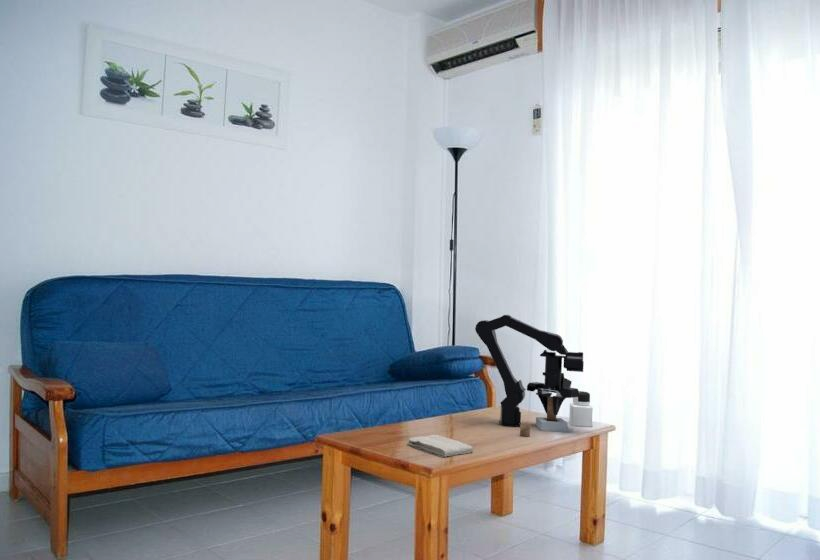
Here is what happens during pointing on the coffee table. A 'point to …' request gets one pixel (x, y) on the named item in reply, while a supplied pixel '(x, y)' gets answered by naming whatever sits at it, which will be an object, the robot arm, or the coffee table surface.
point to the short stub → (525, 429)
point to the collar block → (551, 424)
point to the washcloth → (440, 445)
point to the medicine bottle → (581, 410)
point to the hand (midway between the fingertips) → (551, 414)
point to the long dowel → (550, 410)
